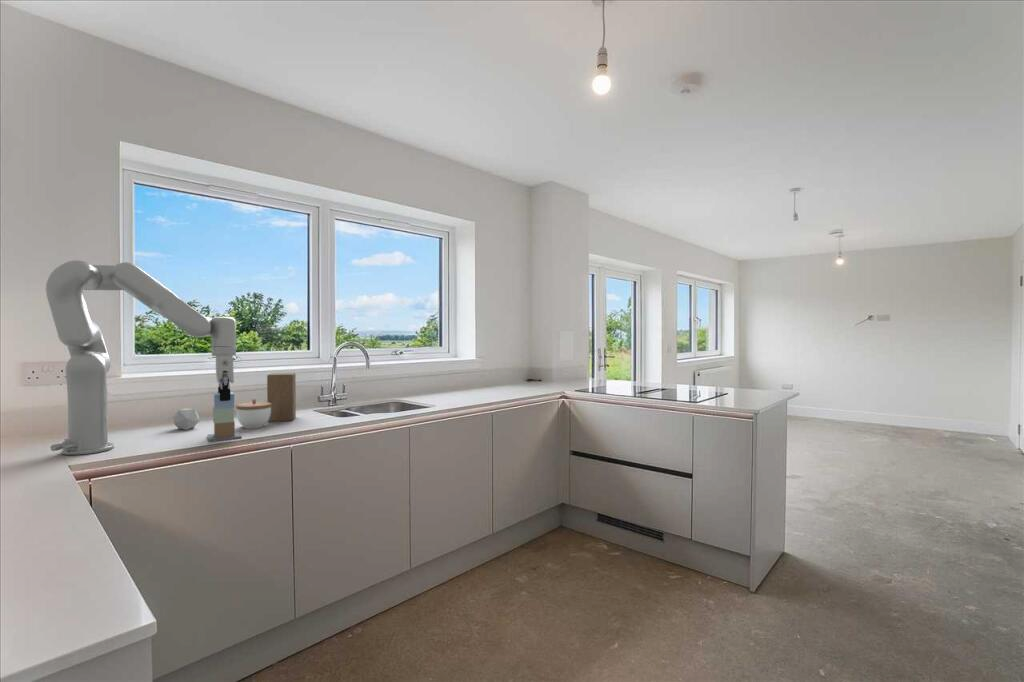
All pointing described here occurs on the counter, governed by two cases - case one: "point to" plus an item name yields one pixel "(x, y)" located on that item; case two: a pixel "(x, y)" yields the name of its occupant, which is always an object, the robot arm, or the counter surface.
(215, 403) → the light blue block
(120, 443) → the counter surface
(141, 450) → the counter surface
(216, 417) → the green brick
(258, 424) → the lidded bowl
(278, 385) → the wooden block
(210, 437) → the tower base
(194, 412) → the die
